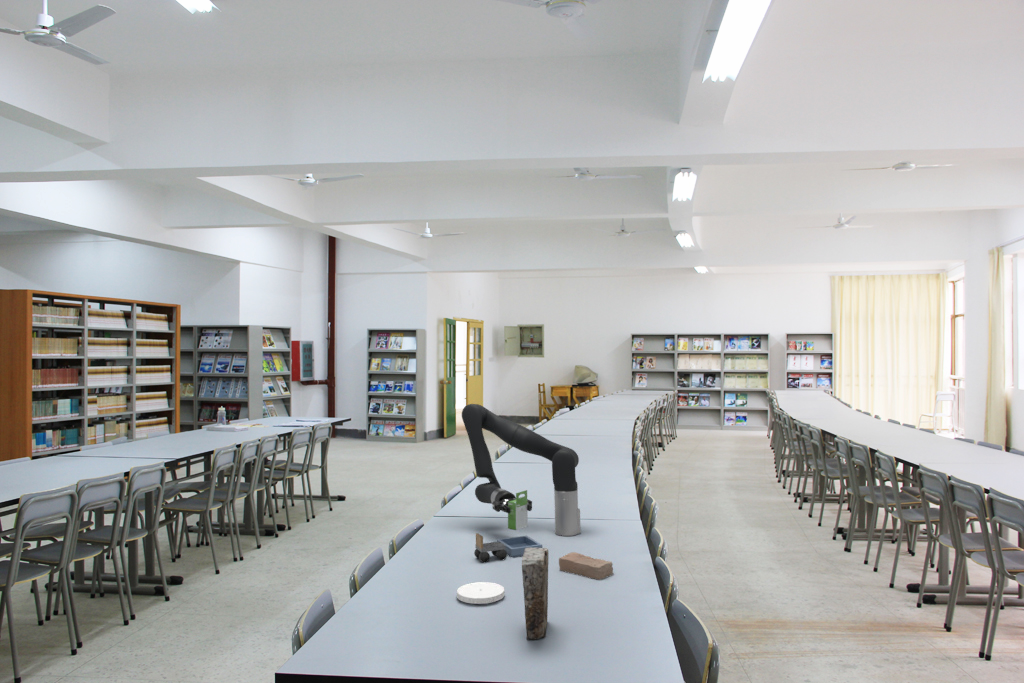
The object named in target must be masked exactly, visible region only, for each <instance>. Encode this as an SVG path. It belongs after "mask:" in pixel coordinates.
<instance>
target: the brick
mask: <svg viewBox="0 0 1024 683" xmlns="http://www.w3.org/2000/svg"><path fill="white" fill-rule="evenodd" d="M558 567H559V570H560V571H562V572H565V571H566V572H565V573H568V572H569V574H572V573H574V574H573V575H576V574H578V576H581V575H582V576H581V577H585V576H586V578H589V577H590V578H589V579H594V578H595V580H600V579H601V580H604V579H605V578H608V577H610V575H611V576H613V575H614V568H613V562H612V561H609V560H606V559H602V558H593V557H591V556H587V555H584V554H581V553H580V552H575V551H574V552H569V553H567V554H565V555H563V556H561V557H559V558H558ZM612 574H613V575H612ZM607 576H608V577H607ZM603 578H604V579H603Z"/></svg>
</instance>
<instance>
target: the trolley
mask: <svg viewBox="0 0 1024 683" xmlns="http://www.w3.org/2000/svg"><path fill="white" fill-rule="evenodd" d="M504 549H506V546H505V545H504V544H502V543H501V542H499V541H498V542H497V541H493V542H485V543H484V536H482V535H481V534H480V533H478V532H477V533H475V550H474V553H473V554H474V556H475V558H477V559H478V558H479V559H478V560H479V561H480V562H482V563H484V562H485V563H487V562H489V560H490V559H491V555H490V553H489V552H491V554H492V555H493V556H495V557H496V558H497V559H498V560H500V561H503V559H504V560H505V559H506V558H507V557H508V555H507V552H506V551H505V550H504Z"/></svg>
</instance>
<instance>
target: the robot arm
mask: <svg viewBox="0 0 1024 683" xmlns="http://www.w3.org/2000/svg"><path fill="white" fill-rule="evenodd" d="M461 419H462V421H463V424H464V428H465V430H466V434H467V436H468V440H469V443H470V448H471V452H472V457H473V464H474V468H475V469H474V470H475V473H476V474H475V475H476V477H478V478H479V479H480V478H481V479H483V478H484V479H487V480H488V481H489V482H485V483H480V484H478V485H477V486H476V488H475V489H474V495H475V498H476V500H478V501H479V502H481V503H484V504H489V505H490V504H491V505H492V510H494V511H495V512H497V513H499V512H502V513H506V514H508V513H510V507H509V506H508V502H509V501H513V500H516V494H513V492H510V491H508V490H507V489H504V488H502V487H501V485H500V483H499V480H498V478H497V476H496V474H495V472H494V468H493V462H492V458H491V454H490V453H491V452H490V450H489V448H488V445H487V443H486V440H485V436H484V433H483V432H484V431H483V430H486V431H488V432H489V433H492V434H494V435H495V436H496V437H497V438H499V439H500V440H502V441H503V442H504V443H505V444H508V445H509V446H511V447H513V448H515V449H516V450H518V451H521V452H523V453H527V454H531V455H535V456H539V457H542V458H544V459H547V460H549V461H550V462H551V472H552V483H553V490H554V491H553V492H554V494H553V495H554V531H555V534H556V535H557V536H561V535H562V536H563V537H571V536H577V535H579V534H581V533H582V532H581V531H582V530H581V528H582V527H581V509H580V508H579V499H578V498H579V494H578V489H579V488H578V482H577V477H576V468H577V467H578V464H579V461H580V458H579V455H578V453H577V452H576V451H575V450H574V449H573V448H570V447H567V446H564V445H561V444H560V443H559V444H558V443H556V442H554V441H552V440H550V439H548V438H547V437H546V438H545V437H544V436H542V435H541V434H539V433H536V432H535V431H533V430H531V429H530V428H527V427H526V426H523V425H521V424H519V423H517V422H515V421H512V420H509V419H506V418H503V417H501V416H499V415H497V414H496V413H494V412H493V411H490V410H489V409H487V408H486V407H485V406H483V405H481V404H478V403H470V404H466V405H465V406H464V408H463V409H462V411H461ZM532 510H533V501H532V500H530V499H528V498H527V511H528V512H531V511H532Z"/></svg>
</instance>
